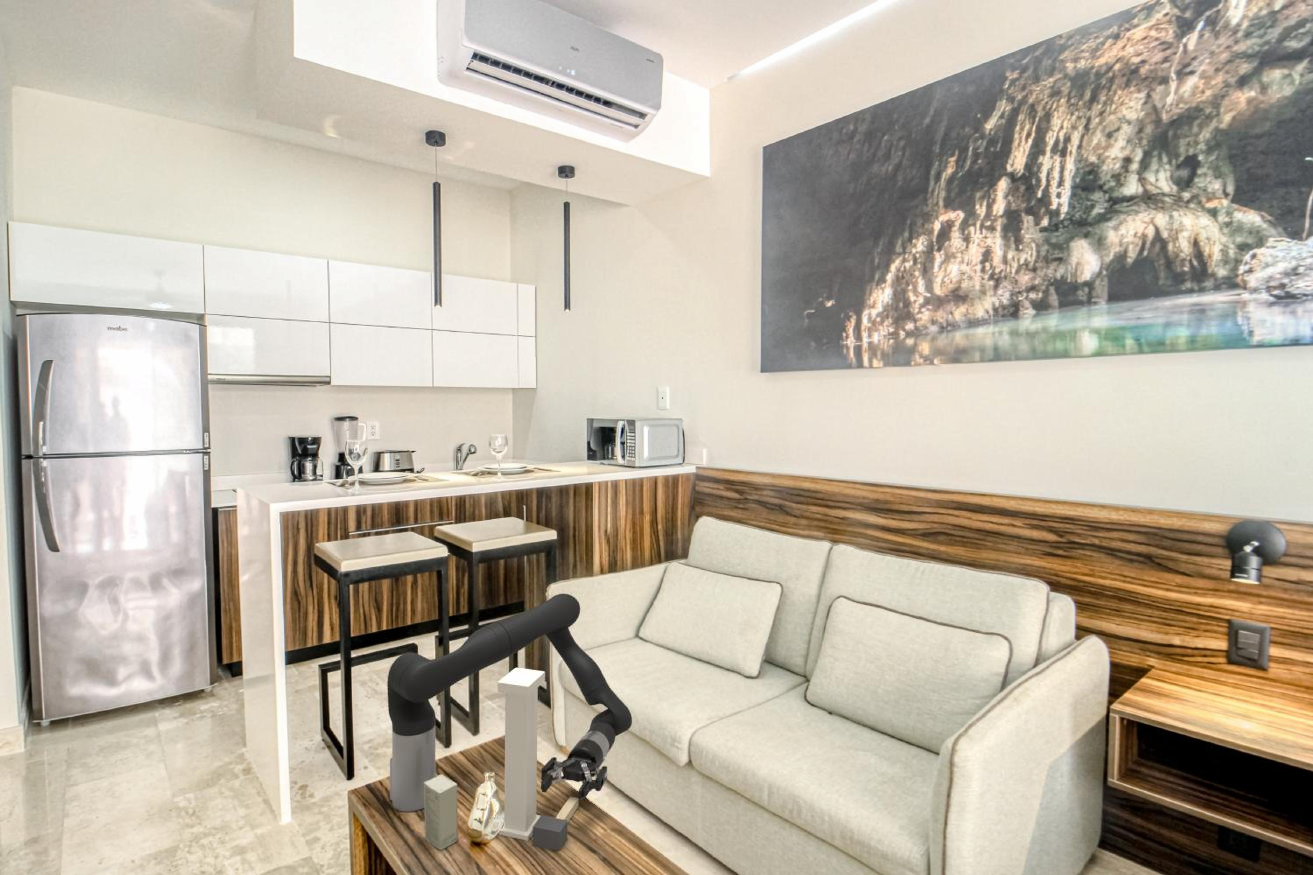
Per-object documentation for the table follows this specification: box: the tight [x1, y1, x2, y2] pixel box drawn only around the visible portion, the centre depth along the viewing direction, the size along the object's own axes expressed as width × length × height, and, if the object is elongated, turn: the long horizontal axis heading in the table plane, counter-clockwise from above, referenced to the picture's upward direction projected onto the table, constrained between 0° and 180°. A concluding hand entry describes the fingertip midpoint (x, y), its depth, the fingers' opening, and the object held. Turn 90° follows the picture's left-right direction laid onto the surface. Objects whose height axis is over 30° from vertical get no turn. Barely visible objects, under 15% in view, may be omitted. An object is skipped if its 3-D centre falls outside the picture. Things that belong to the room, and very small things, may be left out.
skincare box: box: [423, 773, 459, 851], centre depth 137 cm, size 6×4×12 cm
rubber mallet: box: [532, 796, 579, 852], centre depth 143 cm, size 15×6×4 cm, turn 165°
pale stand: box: [497, 667, 546, 842], centre depth 141 cm, size 8×7×33 cm
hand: (561, 791), depth 143 cm, fingers open, 8 cm apart
